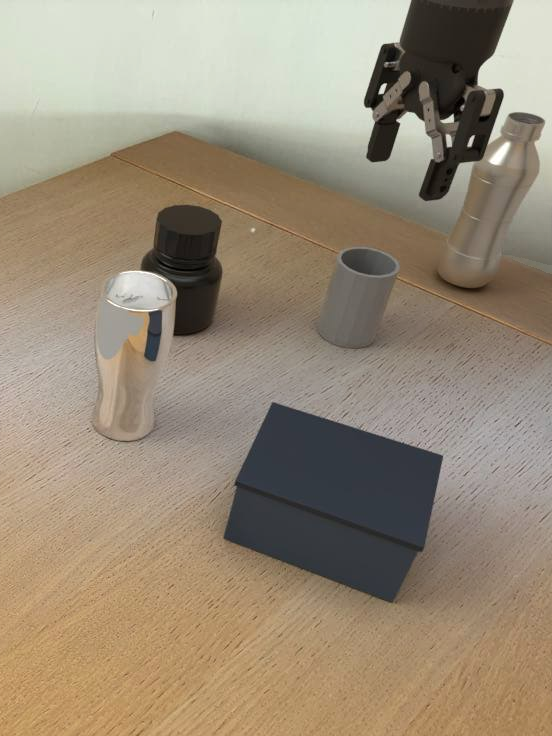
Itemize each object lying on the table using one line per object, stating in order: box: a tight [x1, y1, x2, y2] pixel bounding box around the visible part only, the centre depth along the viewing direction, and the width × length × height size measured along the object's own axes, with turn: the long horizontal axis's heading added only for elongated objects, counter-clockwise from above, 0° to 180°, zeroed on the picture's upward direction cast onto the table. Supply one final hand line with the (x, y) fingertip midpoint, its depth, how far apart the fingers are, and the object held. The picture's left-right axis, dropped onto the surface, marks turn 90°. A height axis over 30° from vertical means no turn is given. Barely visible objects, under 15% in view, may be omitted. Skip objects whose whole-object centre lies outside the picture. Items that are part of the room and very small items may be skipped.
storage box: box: [223, 401, 444, 604], centre depth 68 cm, size 14×11×7 cm
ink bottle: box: [139, 204, 224, 335], centre depth 91 cm, size 10×9×12 cm
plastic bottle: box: [436, 111, 546, 289], centre depth 94 cm, size 6×7×20 cm
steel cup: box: [316, 246, 401, 349], centre depth 90 cm, size 6×6×9 cm
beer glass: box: [91, 269, 177, 442], centre depth 76 cm, size 7×7×15 cm
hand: (402, 178), depth 78 cm, fingers open, 8 cm apart
